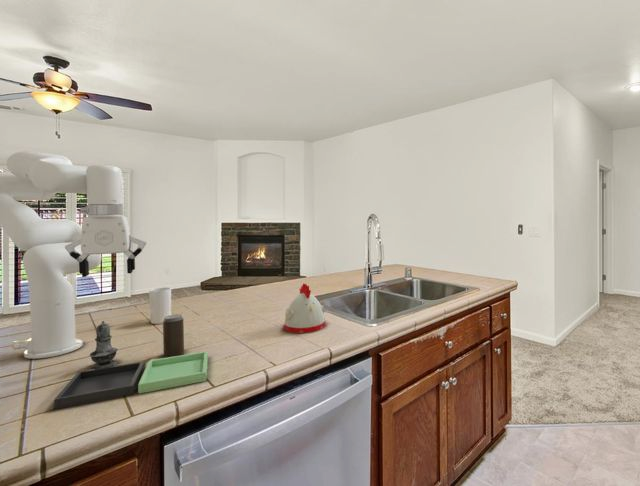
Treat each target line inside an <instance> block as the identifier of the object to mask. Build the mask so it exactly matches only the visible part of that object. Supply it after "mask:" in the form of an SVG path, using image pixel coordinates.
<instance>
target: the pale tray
mask: <svg viewBox="0 0 640 486" xmlns="http://www.w3.org/2000/svg"><path fill="white" fill-rule="evenodd" d="M208 361H209V352H208V350H206V351H200V352H194V353H187V354H182V355H180V356H174V357H168V358H166V357H161V358H154V359H150V360H148V362H147V364H146V366H145V370H144V372H143V375H142V377H141V379H140V381H139V383H138V386H137V391H138V394H145V393H149V392H154V391H159V390H165V389H170V388H176V387H181V386H187V385H191V384H196V383H201V382H206V381H207V374H208Z"/></svg>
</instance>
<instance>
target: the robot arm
mask: <svg viewBox="0 0 640 486" xmlns="http://www.w3.org/2000/svg"><path fill="white" fill-rule="evenodd" d="M5 163H6V164H5V165H6V168H7V169H8V171H9V172H7V171H0V227H1V228H2V230H3V231H4V232H5V234H6V235H7V237H9V239H10V240H11V241H12V243H13V244H14V245H15V247H17V248H18V249H19V250H21V251H23V252H24V254H23V256H22V264H23V269H24V271H25V275H26V279H27V284H28V285H27V286H28V296H29V299H28V300H29V314H30V315H29V317H30V318H29V319H30V338H27V339H25V340H23V339H22V340H15V341H12V342H11V348H12V349H13V350H21V349H25V351H23V357H24V358H25V359H32V360H34V359H35V360H36V359H38V360H39V359H46V358H47V359H48V358H53V357H58V356H62V355H66V354H68V353H71V352H74V351H76V350H78V349H81V347H83V345H84V344H83V342H84V341H83V339H79V338H77V337H76V336H77V335H76V334H77V333H76V309H75V308H76V306H75V288H74V286H73V285H72V283H70V281H68V279H66V278H65V276H66V275H70V274H71V275H72V274H75V273H76V274H78V273H79V275H81V276H82V277H81V278H86V277H88V276H90V271H92V270H94V269H97V268H98V267H99V266H100V264H102V263H101V262H102V255H109V254H120V253H121V254H122V253H123V254H124V255H126V256H127V259H126V272H127V275H128V274H132V273H133V271H135V270H136V258H137V256H139V254H141V253H142V252H143V250H144V248H145V247H146V245H147V242H146V241H144V240H142V239H139V238H136V237H134V236H131V231H130V225H129V221H128V217H127V216H126V215H125V216H124V195H123V194H124V193H123V171H122V169H121V168H120V167H118V166H116V165H109V164H107V165H106V164H93V165H89V166H86V165H75V164H73V162H72V161H71V160H70V159H69V158H68V156H67V157H66V156H64V155H62V154H57V153H47V152H39V151H38V152H37V151H30V150H28V151H27V150H25V151H18V152H15V153H12V154H10V155H9V157H8V158H7V159H6V162H5ZM56 194H83V195H85V194H86V202H87V203H86V206H84V207H80V209H79V210H80V213H84V214H86V215H87V216H84V217H83V218H82V222H81V225H80V224H79V223H78V222H76V221H74V220H71V219H45V218H42V217H40V215H39V214H38V213H37V212H36V210H34V209H33V208H32V207H30V206H28V205H27V204H25V203H23V202H20V201H46V200H50V199H52V198H53V197H55V196H56ZM132 243H133V244H136V245H137V248H136V249H135V250H132V248H131V247H132Z"/></svg>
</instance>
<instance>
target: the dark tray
mask: <svg viewBox="0 0 640 486" xmlns="http://www.w3.org/2000/svg"><path fill="white" fill-rule="evenodd" d="M145 369H146V360H144V361H143V360H142V361H137V362H129V363H123V364H117V365H113V366H111V367H104V368H98V369H92V368H91V369H85V370H81V371H77V373H76V374H74V376H73V377H72V378H71V379H70V380H69V382H68V383H66V385H65V387H64V388H63V389H62V390H61V391H60V392H59V393H58V395H57V396H56V397H55V398H54V399H53V406H54V407H53V408H54V410H59V409H64V408H69V407H75V406H80V405H86V404H90V403H96V402H101V401H106V400H111V399H112V400H113V399H117V398H122V397H127V396H133V395H134V394H135V392H136V389H138V384H139V382H140V380H141V378H142V375H143V373H144V371H145Z"/></svg>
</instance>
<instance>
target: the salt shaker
mask: <svg viewBox="0 0 640 486" xmlns="http://www.w3.org/2000/svg"><path fill="white" fill-rule="evenodd" d="M100 323H101V324H99V325H97V326H96V329H95V330H96V331H95V332H96V337H95V338H94V341H96V342H95V343H96V347H95V350H94V351H92V352H90V353H89V357H90V359H91V361H92V362H93V363H94V364H93V365H91V367H90V369H91V370H92V369H98V368H104V367H111V366H116V364H118V363H117V360H115V359H114V358H115V357H116V355H117V352H118V350H119V349H118V348H117V347H113V346H112V343H111V342H112V341H111V339H112V337H113V336H112V335H111V326H110V324H108V323H105V321H104V320H102V321H101V322H100Z"/></svg>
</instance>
